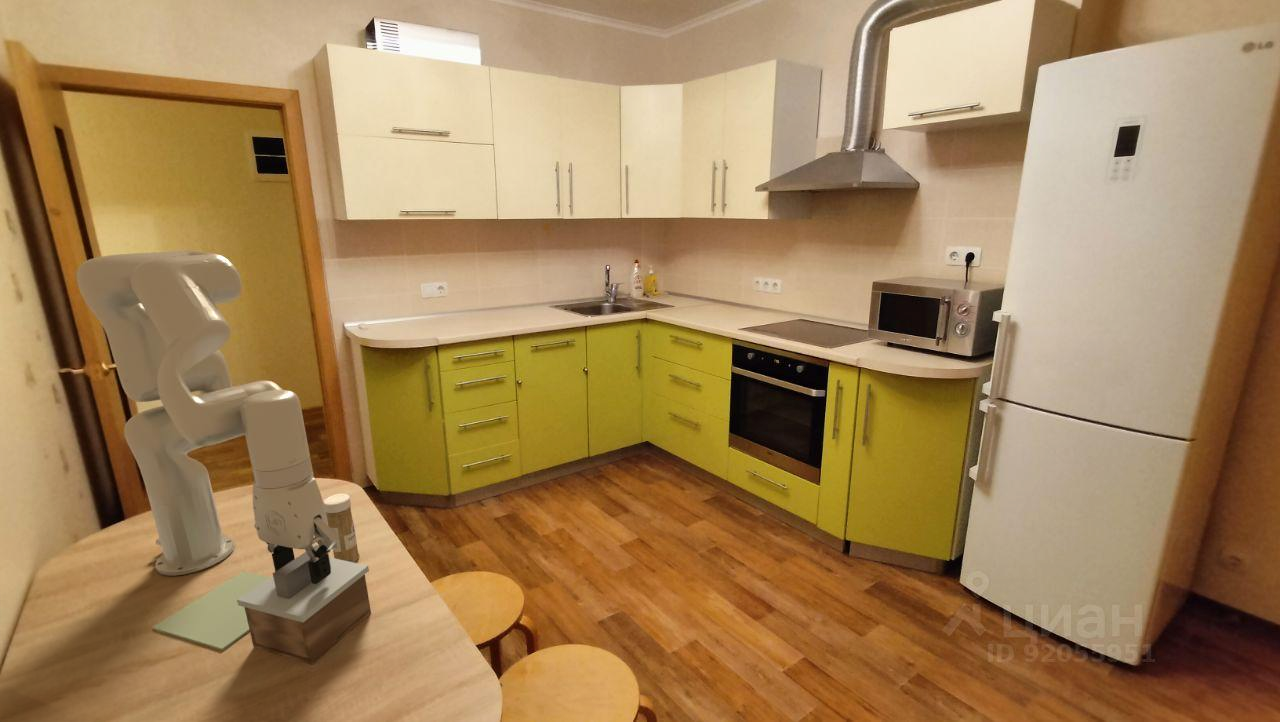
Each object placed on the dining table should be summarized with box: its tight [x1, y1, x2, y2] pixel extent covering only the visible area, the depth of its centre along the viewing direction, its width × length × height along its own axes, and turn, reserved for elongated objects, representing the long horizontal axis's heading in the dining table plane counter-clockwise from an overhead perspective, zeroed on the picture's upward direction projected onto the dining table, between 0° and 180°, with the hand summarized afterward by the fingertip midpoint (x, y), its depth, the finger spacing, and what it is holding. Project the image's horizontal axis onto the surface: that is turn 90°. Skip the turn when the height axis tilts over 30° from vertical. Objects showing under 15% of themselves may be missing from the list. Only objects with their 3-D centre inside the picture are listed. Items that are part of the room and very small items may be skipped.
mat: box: [151, 570, 272, 651], centre depth 101 cm, size 16×16×1 cm
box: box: [244, 574, 372, 665], centre depth 94 cm, size 12×12×8 cm
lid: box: [237, 544, 370, 623], centre depth 93 cm, size 13×13×6 cm
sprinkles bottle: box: [323, 493, 361, 563], centre depth 112 cm, size 5×5×13 cm
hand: (303, 573), depth 92 cm, fingers open, 6 cm apart
